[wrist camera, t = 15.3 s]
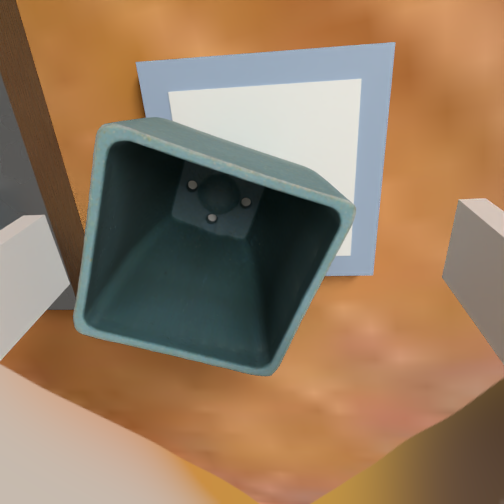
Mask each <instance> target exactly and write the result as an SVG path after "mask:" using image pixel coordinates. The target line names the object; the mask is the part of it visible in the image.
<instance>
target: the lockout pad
mask: <svg viewBox="0 0 504 504" xmlns="http://www.w3.org/2000/svg"><path fill="white" fill-rule="evenodd" d="M394 51H395V42H391V43H378V44H365V45H352V46H339V47H326V48H313V49H300V50H287V51H274V52H261V53H248V54H235V55H222V56H209V57H196V58H183V59H170V60H157V61H145V62H136V66H137V72H138V77H139V83H140V88H141V93H142V99H143V104H144V110H145V115H146V118H149V117H159V118H164V119H168V120H171V121H174V122H177V123H180V124H182V125H185V126H188V127H191V128H193V129H196V130H199V131H202V132H205V133H208V134H210V135H213V136H216V137H219V138H222V139H225V140H228V141H230V142H233V143H236V144H239V145H242V146H245V147H248V148H251V149H254V150H257V151H260V152H263V153H266V154H269V155H272V156H275V157H278V158H281V159H284V160H287V161H290V162H293V163H296V164H299V165H302V166H305V167H307V168H309V169H311V170H313V171H315V172H316V173H318V174H319V175H320V176H322V177H323V178H324V179H325V180H326V181H328V182H329V183H330V184H331V185H332V186H333V187H335V188H336V189H337V190H338V191H339V192H340V193H341V194H343V195H344V196H345V197H346V198H347V199H348V200H349V201H351V202H352V203H353V204H354V205H355V207H356V215H355V219H354V222H353V224H352V226H351V228H350V230H349V232H348V234H347V236H346V238H345V240H344V241H343V243H342V245H341V247H340V249H339V250H338V252H337V254H336V256H335V258H334V260H333V262H332V263H331V266H330V268H329V270H328V272H327V273H326V276H358V275H373V270H374V259H375V249H376V239H377V228H378V218H379V207H380V197H381V186H382V176H383V166H384V155H385V145H386V134H387V124H388V113H389V103H390V92H391V82H392V72H393V61H394ZM188 186H189V188H191V189H195V188H196V187H197V183H196V182H195V181H189V183H188ZM250 203H251V201H250V199H249V198H244V199H242V204H243V205H244V206H248V205H250ZM208 219H209V220H210V221H215V220H216V219H217V217H216V215H214V214H211V215H209V216H208Z"/></svg>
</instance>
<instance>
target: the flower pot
mask: <svg viewBox="0 0 504 504" xmlns="http://www.w3.org/2000/svg"><path fill="white" fill-rule="evenodd" d="M189 181H195V182H196V183H197V187H196V188H195V189H191V188H189V186H188V183H189ZM244 198H249V199H250V201H251V203H250V205H248V206H244V205H243V204H242V199H244ZM211 214H214V215H216V217H217V219H216V220H215V221H210V220H209V219H208V216H209V215H211ZM355 215H356V207H355V205H354V204H353V203H352V202H351V201H349V200H348V199H347V198H346V197H345V196H344V195H343V194H341V193H340V192H339V191H338V190H337V189H336V188H335V187H333V186H332V185H331V184H330V183H329V182H328V181H326V180H325V179H324V178H323V177H322V176H320V175H319V174H318V173H316V172H315V171H313V170H311V169H309V168H307V167H305V166H302V165H299V164H296V163H293V162H290V161H287V160H284V159H281V158H278V157H275V156H272V155H269V154H266V153H263V152H260V151H257V150H254V149H251V148H248V147H245V146H242V145H239V144H236V143H233V142H230V141H228V140H225V139H222V138H219V137H216V136H213V135H210V134H208V133H205V132H202V131H199V130H196V129H193V128H191V127H188V126H185V125H182V124H180V123H177V122H174V121H171V120H168V119H164V118H159V117H149V118H140V119H134V120H126V121H120V122H114V123H108V124H104V125H102V126H101V127H100V128H99V130H98V131H97V135H96V141H95V147H94V153H93V167H92V175H91V185H90V192H89V204H88V210H87V221H86V228H85V236H84V246H83V254H82V261H81V268H80V276H79V283H78V290H77V296H76V303H75V307H74V314H73V321H74V326H75V329H76V330H77V331H78V332H79V333H81V334H84V335H87V336H90V337H94V338H96V339H102V340H107V341H110V342H116V343H121V344H125V345H130V346H134V347H138V348H142V349H146V350H150V351H154V352H159V353H164V354H168V355H172V356H176V357H181V358H184V359H188V360H193V361H197V362H202V363H205V364H209V365H212V366H217V367H223V368H227V369H230V370H234V371H238V372H242V373H247V374H251V375H257V376H270V375H272V374H273V373H274V372H275V371H276V370H277V369H278V367H279V366H280V364H281V362H282V360H283V357H284V355H285V353H286V351H287V350H288V347H289V345H290V344H291V341H292V339H293V337H294V335H295V333H296V331H297V329H298V326H299V325H300V323H301V321H302V319H303V317H304V315H305V313H306V311H307V309H308V308H309V306H310V303H311V301H312V299H313V298H314V296H315V293H316V292H317V290H318V289H319V287H320V284H321V282H322V281H323V279H324V277H325V276H326V273H327V272H328V270H329V268H330V266H331V263H332V262H333V260H334V258H335V256H336V254H337V252H338V250H339V249H340V247H341V245H342V243H343V241H344V240H345V238H346V236H347V234H348V232H349V230H350V228H351V226H352V224H353V222H354V219H355Z"/></svg>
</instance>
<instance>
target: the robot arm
mask: <svg viewBox="0 0 504 504" xmlns="http://www.w3.org/2000/svg"><path fill="white" fill-rule="evenodd" d="M442 278H443V279H444V281H445V282H446V284H447V285H448V286H449V288H450V289H451V291H452V292H453V293H454V295H455V296H456V298H457V299H458V300H459V302H460V303H461V305H462V306H463V308H464V309H465V310H466V312H467V313H468V315H469V316H470V317H471V319H472V320H473V322H474V323H475V325H476V326H477V327H478V329H479V330H480V332H481V333H482V334H483V336H484V337H485V339H486V340H487V341H488V343H489V344H490V346H491V347H492V349H493V350H494V351H495V353H496V354H497V356H498V357H499V358H500V360H501V361H502V363H503V364H504V211H502V210H501V209H500V208H498V207H497V206H495V205H494V204H493V203H491V202H490V201H489V200H487V199H486V198H483V199H459V200H458V205H457V209H456V214H455V219H454V223H453V228H452V233H451V238H450V242H449V247H448V252H447V256H446V261H445V266H444V270H443V275H442ZM69 285H70V283H69V280H68V277H67V274H66V272H65V269H64V266H63V263H62V261H61V258H60V255H59V252H58V250H57V247H56V244H55V241H54V239H53V236H52V233H51V230H50V228H49V225H48V222H47V219H46V217H45V215H24V216H22V217H20V218H19V219H17V220H15V221H14V222H12V223H11V224H9V225H8V226H6V227H5V228H3V229H1V230H0V361H1V360H2V359H3V357H4V356H5V355H6V354H7V353H8V352H9V351H10V350H11V349H12V347H13V346H14V345H15V344H16V343H17V342H18V341H19V340H20V339H21V338H22V336H23V335H24V334H25V333H26V332H27V331H28V330H29V329H30V328H31V327H32V325H33V324H34V323H35V322H36V321H37V320H38V319H39V318H40V317H41V315H42V314H43V313H44V312H45V311H46V310H47V309H48V308H49V307H50V306H51V304H52V303H53V302H54V301H55V300H56V299H57V298H58V297H59V296H60V294H61V293H62V292H63V291H64V290H65V289H66V288H67V287H68V286H69Z"/></svg>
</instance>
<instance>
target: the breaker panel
mask: <svg viewBox="0 0 504 504" xmlns="http://www.w3.org/2000/svg"><path fill="white" fill-rule="evenodd" d="M24 215H45V217H46V219H47V222H48V225H49V228H50V230H51V233H52V236H53V239H54V241H55V244H56V247H57V250H58V252H59V255H60V258H61V261H62V263H63V266H64V269H65V272H66V274H67V277H68V280H69V283H70V285H69V286H68V287H67V288H66V289H65V290H64V291H63V292H62V293H61V294H60V296H59V297H58V298H57V299H56V300H55V301H54V302H53V303H52V304H51V306H50V307H49V308H48V309H47V310H74V307H75V303H76V296H77V290H78V283H79V276H80V268H81V261H82V254H83V246H84V236H85V234H84V231H83V227H82V224H81V221H80V217H79V214H78V210H77V207H76V204H75V200H74V197H73V194H72V190H71V187H70V183H69V180H68V177H67V173H66V170H65V166H64V163H63V160H62V156H61V153H60V149H59V146H58V143H57V139H56V136H55V133H54V129H53V126H52V122H51V119H50V116H49V112H48V109H47V105H46V102H45V99H44V95H43V92H42V88H41V85H40V82H39V78H38V75H37V71H36V68H35V65H34V61H33V58H32V55H31V51H30V48H29V44H28V41H27V38H26V34H25V31H24V27H23V24H22V21H21V17H20V14H19V10H18V7H17V4H16V0H0V230H1V229H3V228H5V227H6V226H8V225H9V224H11V223H12V222H14V221H15V220H17V219H19V218H20V217H22V216H24Z"/></svg>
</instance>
